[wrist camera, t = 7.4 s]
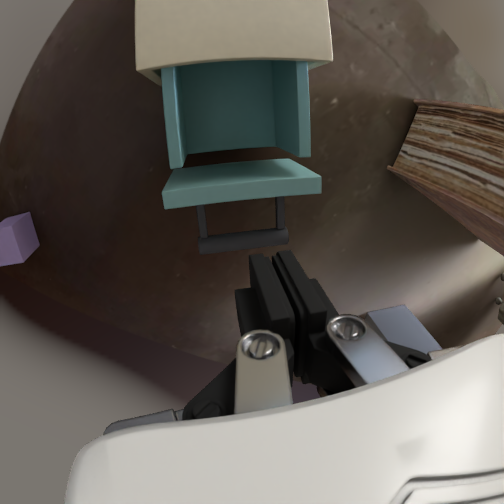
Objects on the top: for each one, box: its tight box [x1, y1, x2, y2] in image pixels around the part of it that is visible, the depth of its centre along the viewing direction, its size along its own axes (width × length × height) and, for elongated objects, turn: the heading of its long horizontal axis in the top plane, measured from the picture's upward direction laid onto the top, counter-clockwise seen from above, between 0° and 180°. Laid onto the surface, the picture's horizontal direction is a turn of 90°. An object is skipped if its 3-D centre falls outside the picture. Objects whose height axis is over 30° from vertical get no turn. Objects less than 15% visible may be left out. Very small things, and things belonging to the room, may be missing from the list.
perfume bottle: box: [365, 305, 442, 355], centre depth 31 cm, size 7×7×18 cm
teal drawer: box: [161, 60, 321, 255], centre depth 20 cm, size 17×10×8 cm, turn 3°
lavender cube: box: [0, 212, 40, 266], centre depth 23 cm, size 4×4×4 cm
